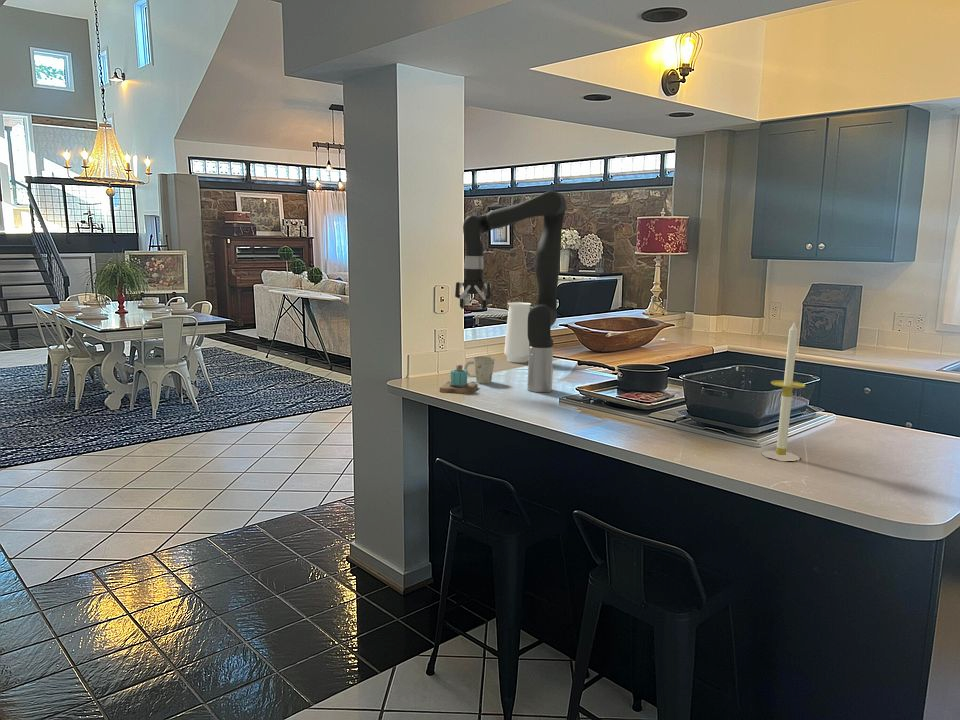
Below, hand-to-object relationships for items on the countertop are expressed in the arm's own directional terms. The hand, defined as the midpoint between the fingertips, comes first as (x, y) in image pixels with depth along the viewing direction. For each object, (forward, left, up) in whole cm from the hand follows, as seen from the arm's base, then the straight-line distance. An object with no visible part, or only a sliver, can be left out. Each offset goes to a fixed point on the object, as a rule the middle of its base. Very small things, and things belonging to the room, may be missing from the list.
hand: (473, 309), depth 266 cm
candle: (-103, +68, -30) cm, 127 cm away
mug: (-2, -4, -30) cm, 31 cm away
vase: (-9, -59, -30) cm, 67 cm away
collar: (+2, +13, -28) cm, 31 cm away
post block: (+2, +13, -30) cm, 33 cm away
